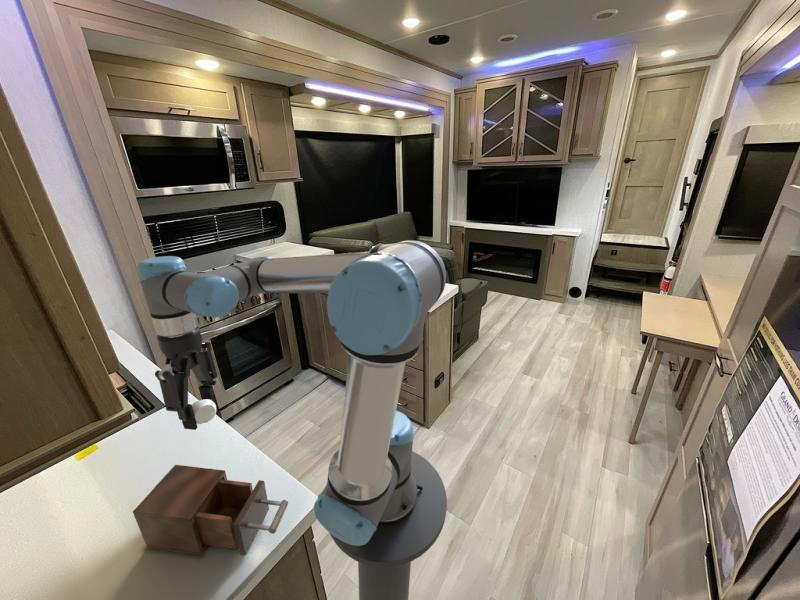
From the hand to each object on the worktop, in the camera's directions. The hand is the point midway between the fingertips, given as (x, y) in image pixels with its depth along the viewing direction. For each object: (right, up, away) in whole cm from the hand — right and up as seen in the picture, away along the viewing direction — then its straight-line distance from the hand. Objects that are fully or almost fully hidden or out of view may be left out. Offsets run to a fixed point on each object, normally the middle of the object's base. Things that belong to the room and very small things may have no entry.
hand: (201, 417), depth 75 cm
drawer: (+15, -20, -8) cm, 27 cm away
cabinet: (+3, -20, -7) cm, 22 cm away
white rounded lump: (0, 0, +1) cm, 1 cm away
